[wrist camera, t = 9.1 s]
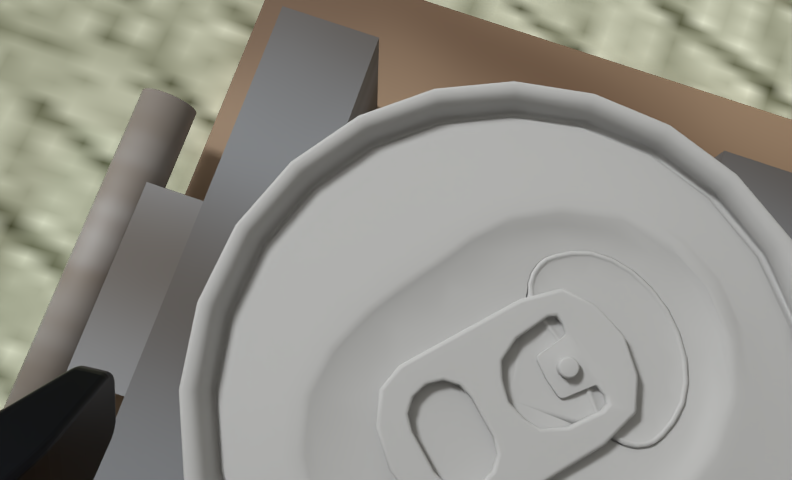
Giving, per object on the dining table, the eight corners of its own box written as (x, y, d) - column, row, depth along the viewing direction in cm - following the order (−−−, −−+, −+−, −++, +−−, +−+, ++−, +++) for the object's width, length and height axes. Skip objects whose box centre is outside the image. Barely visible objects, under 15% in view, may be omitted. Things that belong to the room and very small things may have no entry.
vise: (621, 923, 16) (718, 1126, 11) (-57, 675, 16) (-214, 778, 12) (802, 144, 19) (929, 69, 15) (244, -38, 20) (209, -161, 16)
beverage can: (563, 440, 17) (1019, 542, 5) (372, 554, 16) (375, 976, 4) (455, 252, 18) (629, -43, 6) (268, 353, 17) (36, 254, 5)
